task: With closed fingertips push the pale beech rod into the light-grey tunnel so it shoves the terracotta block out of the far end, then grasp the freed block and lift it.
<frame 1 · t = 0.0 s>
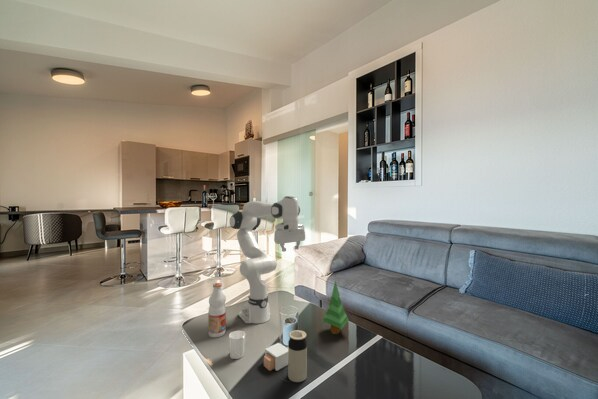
hand: (290, 250, 144), 48 cm above the table, fingers open, 8 cm apart
rod: (290, 356, 126), on the table
white cup: (237, 355, 126), on the table
travel mug: (297, 377, 111), on the table
block: (270, 366, 118), on the table
fruit juice: (217, 334, 147), on the table
tunnel: (277, 362, 120), on the table
decorative tree: (335, 332, 149), on the table
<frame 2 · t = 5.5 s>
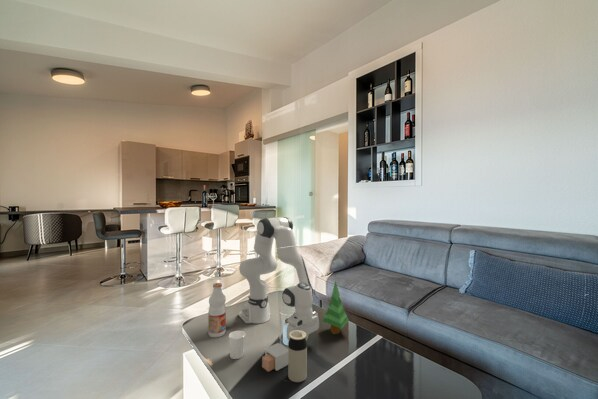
hand: (303, 343, 132), 3 cm above the table, fingers closed
rod: (288, 357, 125), on the table, touching block, gripper
block: (269, 367, 117), on the table, touching rod
everything else where it was.
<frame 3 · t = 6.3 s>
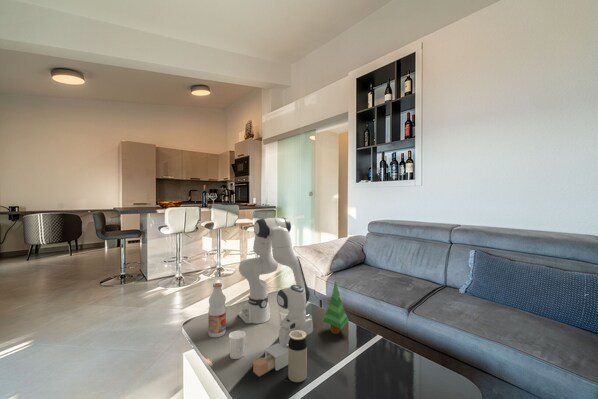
hand: (296, 347, 129), 3 cm above the table, fingers closed
rod: (280, 361, 121), on the table, touching block, gripper
block: (260, 371, 114), on the table, touching rod
everything else where it was.
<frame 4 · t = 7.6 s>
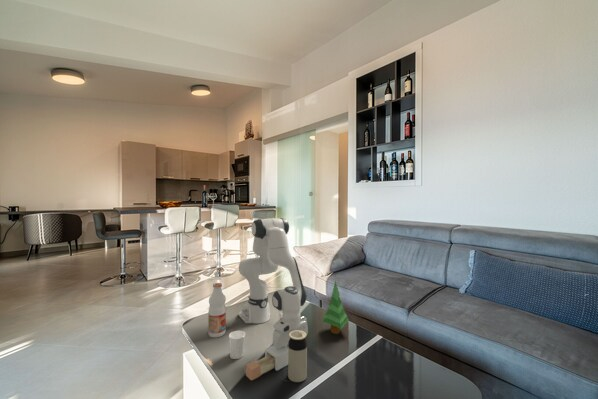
hand: (291, 350, 126), 3 cm above the table, fingers closed
rod: (273, 364, 119), on the table, touching block, gripper
block: (253, 375, 111), on the table, touching rod
everything else where it was.
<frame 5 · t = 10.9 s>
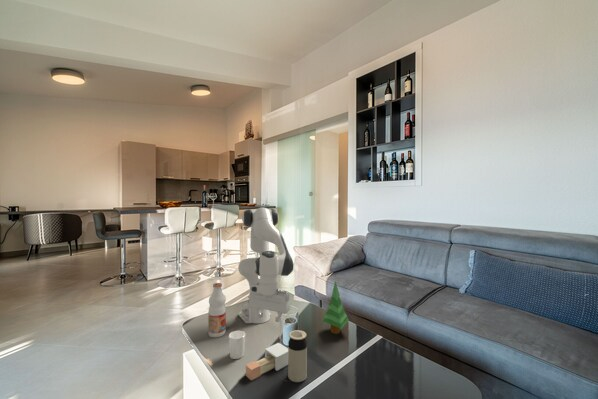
hand: (268, 319, 116), 22 cm above the table, fingers open, 8 cm apart
rod: (273, 365, 119), on the table
block: (253, 375, 111), on the table
everything else where it was.
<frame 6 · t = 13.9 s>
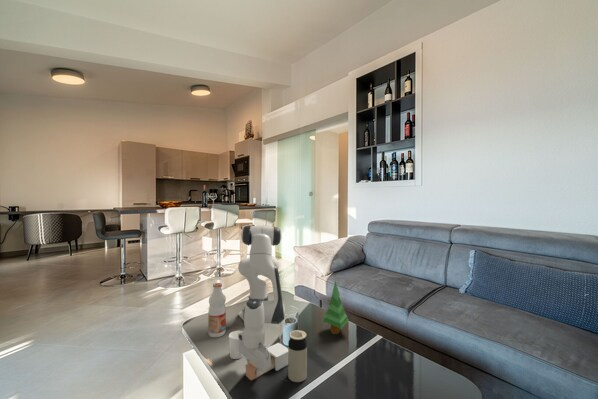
hand: (253, 371, 112), 2 cm above the table, fingers closed on block, 4 cm apart
block: (252, 375, 111), on the table, touching gripper
everything else where it was.
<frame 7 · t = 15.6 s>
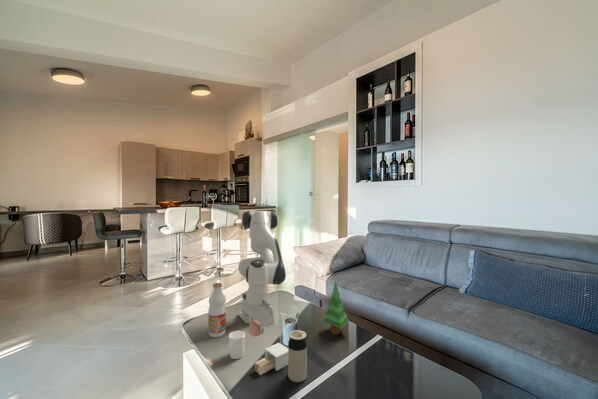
hand: (257, 328, 115), 18 cm above the table, fingers closed on block, 4 cm apart
block: (256, 333, 114), point 17 cm above the table, touching gripper
everything else where it was.
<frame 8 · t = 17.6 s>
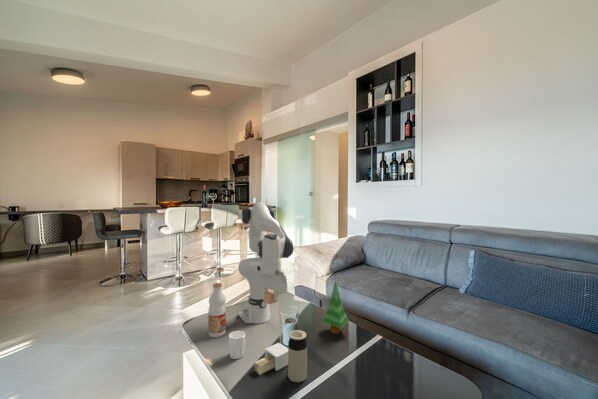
hand: (271, 297, 123), 29 cm above the table, fingers closed on block, 4 cm apart
block: (270, 301, 123), point 27 cm above the table, touching gripper
everything else where it was.
at the end: block point 27.4 cm above the table; the gripper is holding block; block moved 27.8 cm from its start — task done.
